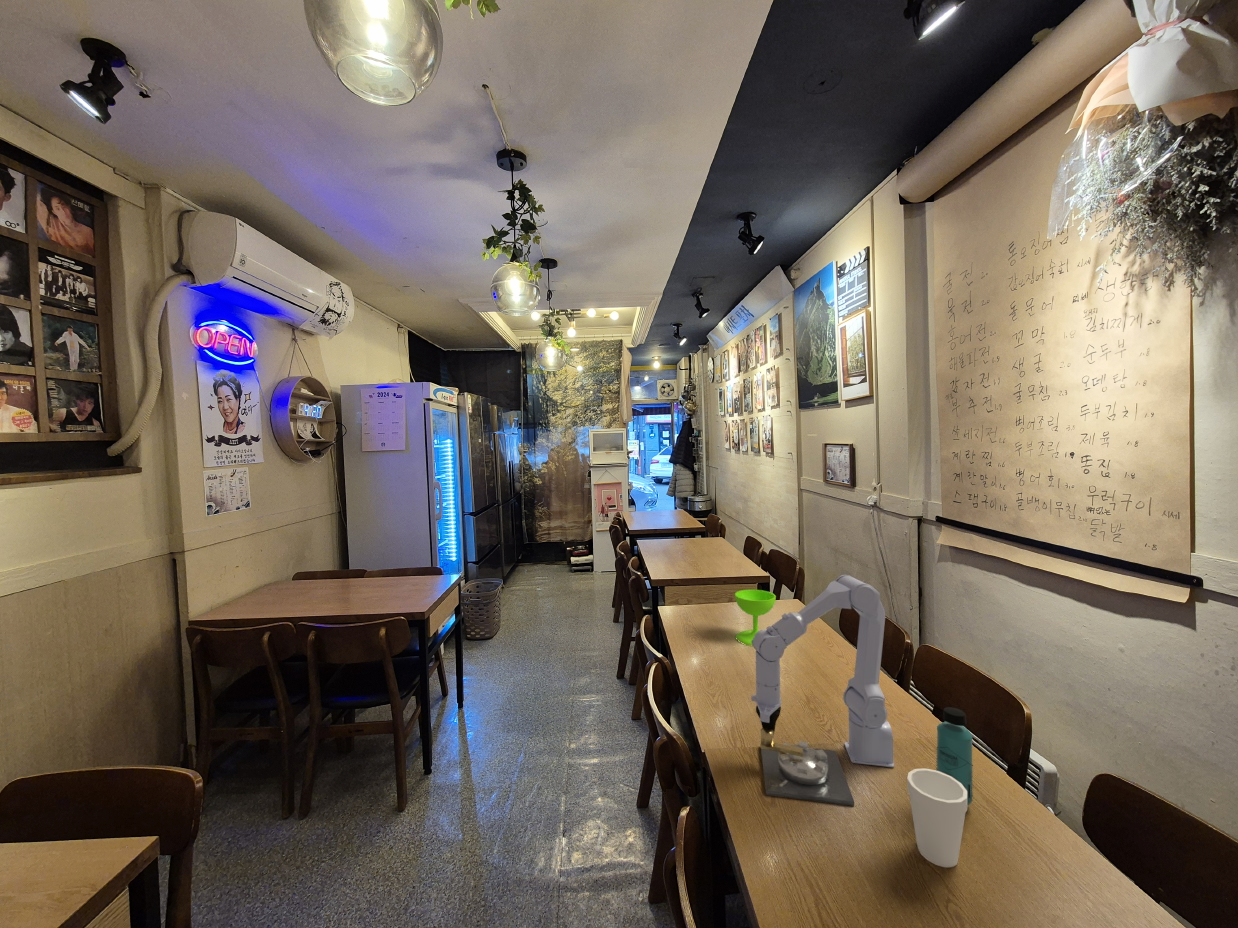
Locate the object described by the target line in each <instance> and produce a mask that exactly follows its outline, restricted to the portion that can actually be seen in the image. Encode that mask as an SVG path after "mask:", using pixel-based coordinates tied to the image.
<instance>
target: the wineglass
mask: <svg viewBox="0 0 1238 928" xmlns="http://www.w3.org/2000/svg"><path fill="white" fill-rule="evenodd" d="M734 598H735V602H736V604H737V606H738V607H739V608H740V610H742V611H743V612H745V614H747V615H750V616H752V630H751V629H750V630H749V629H748V630H743V631H739V632H738V633H737V634H736V635H735V639H736V638H737V640H739V641H740V642H742V643H744V644H746V645H745V646H747V645H752V640H753V638H754V637H755V636H754V635H755V634H756V633H757V632H758V631H759V616H763V615H766V614H767V613H769V612H770V611H771V610H772V609H773V608H774V606H775V603H776V598H777V596H776V595H775V594H774V593H773V592H770V591H767V590H762V589H742V590H738V591H736V592H735V593H734ZM737 640H736V641H737ZM744 644H743V645H744ZM752 646H753V645H752ZM752 646H751V647H752Z"/></svg>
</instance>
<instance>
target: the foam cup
mask: <svg viewBox="0 0 1238 928" xmlns="http://www.w3.org/2000/svg"><path fill="white" fill-rule="evenodd" d="M906 780H907V782H906V783H907V784H906V785H907V792H908V794H909V801H910V809H911V814H912V815H911V816H912V820H913V827H914V828H913V829H914V834H915V840H916V845H917V849H918V852H919V853H920V854H921V856H923V858H925V859H926V860H927V861H928V862H930V863H932V864H934V865H936V866H939V867H942V868H954V867H955V866H957V864H958V861H959V857H960V851H961V844H962V837H963V831H964V824H965V818H966V812H968V806H967V790H966V789H965V788H964V786H963V785H962V784H961V783H960V782H959V781H957V780H956V779H954V778H953V777H951V776H949V775H947V774H944V773H942V772H940V771H937V769H936V770H935V769H931V768H924V767H923V768H914V769H912V770H911V771H908V773H907V779H906Z"/></svg>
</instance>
